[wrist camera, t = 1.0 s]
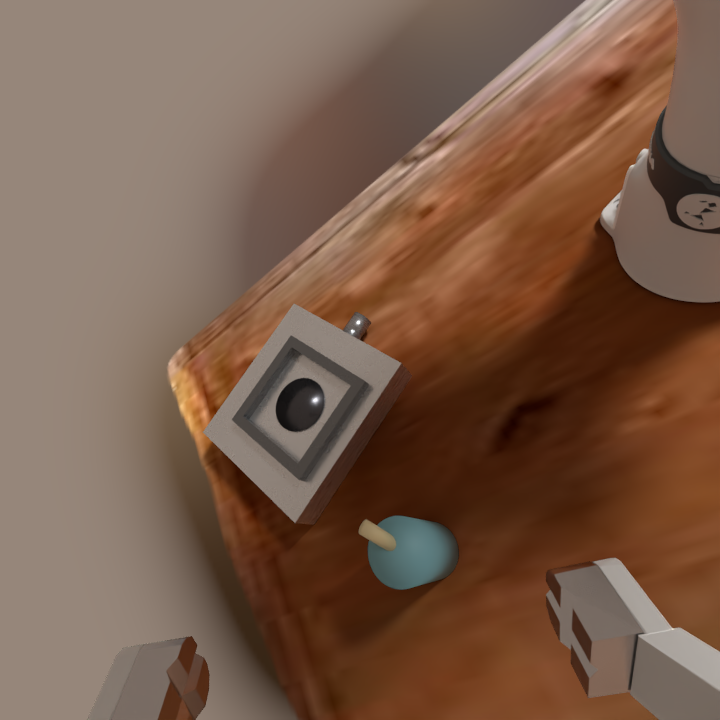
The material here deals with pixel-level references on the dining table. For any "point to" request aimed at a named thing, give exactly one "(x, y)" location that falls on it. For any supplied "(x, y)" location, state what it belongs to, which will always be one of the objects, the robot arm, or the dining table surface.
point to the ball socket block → (307, 410)
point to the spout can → (409, 551)
